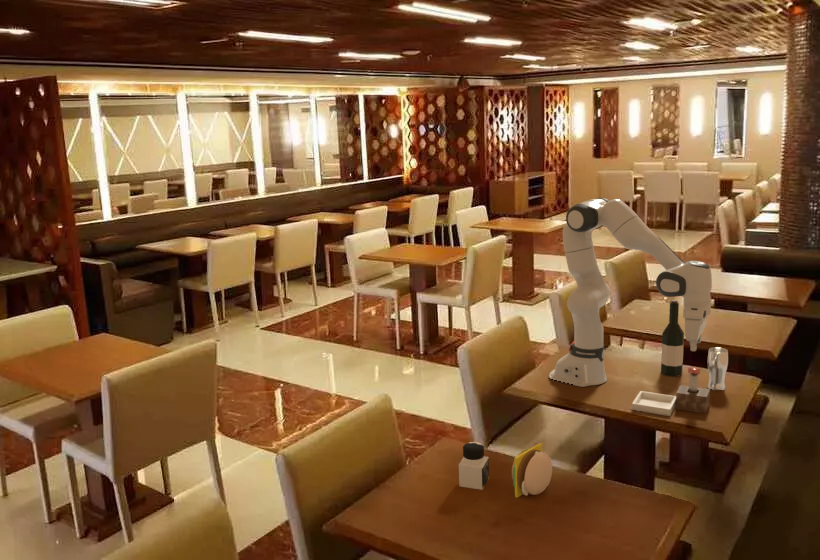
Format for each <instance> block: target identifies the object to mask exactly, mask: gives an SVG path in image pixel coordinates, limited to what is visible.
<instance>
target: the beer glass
mask: <svg viewBox="0 0 820 560" xmlns="http://www.w3.org/2000/svg"><path fill="white" fill-rule="evenodd" d="M728 365H729V351H728V349H726V348H723V347H718V346H717V347H710V348H709V349H708V355H707V369H708V384H707V389H710V390H711V389H712V391H715V390H722V391H725V390H726V385H725V379H726V378H725V377H726V374H727V370H728Z"/></svg>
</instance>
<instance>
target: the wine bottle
mask: <svg viewBox="0 0 820 560" xmlns="http://www.w3.org/2000/svg"><path fill="white" fill-rule="evenodd" d="M679 307H680V302H679V301H678V299H671V301H670V302H669V318H668V319H669V320H668V322H669V323H668V324H667V325H666V326H665V328H664V330H663V331H662V334H661V336H662V337H661V341H662V342H661V361H660V362H661V363H660V373H661V374H662V375H664V376H667V375H668V377H679V376H678V375H680V376H682V375H681V374H683V367H684V366H683V363H684V361H683V360H684V345H685V344H684V343H685V342H684V340H685V331H684V330H683V329H682V326H681V325H680V324H679Z"/></svg>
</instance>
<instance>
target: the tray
mask: <svg viewBox="0 0 820 560" xmlns="http://www.w3.org/2000/svg"><path fill="white" fill-rule="evenodd" d="M674 409H676V395H670V394H663V393H657V392H651V391H643V390H640V391H639V392H638V394H637V395H636V396H635V398H634V400H633V401H632V403H631V411H634V410H636V411H635V412H640V411H642V412H641V413H648V414H654V415H659V416H666V417H671V416H672V413H673V411H674Z"/></svg>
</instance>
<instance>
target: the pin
mask: <svg viewBox="0 0 820 560" xmlns="http://www.w3.org/2000/svg"><path fill="white" fill-rule="evenodd" d="M687 373H688V374H689V392H691V393H697V387H698V385H699V384H698V382H699V379H698V378H699V375H700V374H701V368H699V367H695V366H694V367H693V366H690V367H688V368H687Z"/></svg>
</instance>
